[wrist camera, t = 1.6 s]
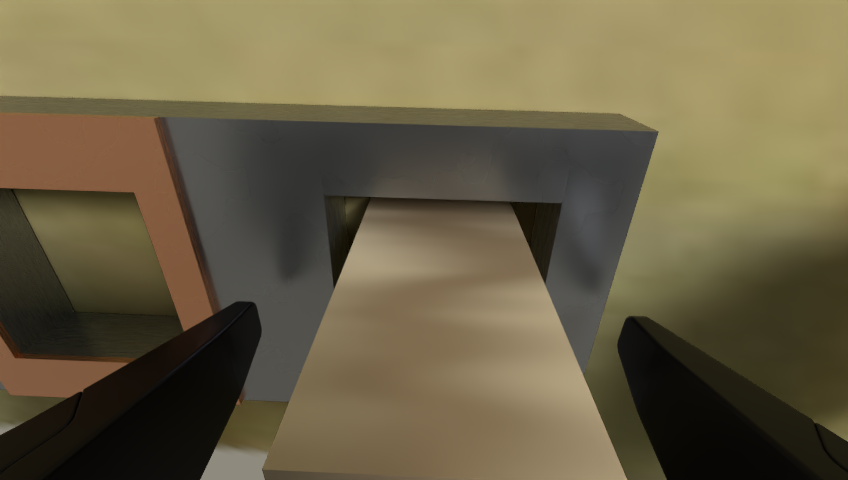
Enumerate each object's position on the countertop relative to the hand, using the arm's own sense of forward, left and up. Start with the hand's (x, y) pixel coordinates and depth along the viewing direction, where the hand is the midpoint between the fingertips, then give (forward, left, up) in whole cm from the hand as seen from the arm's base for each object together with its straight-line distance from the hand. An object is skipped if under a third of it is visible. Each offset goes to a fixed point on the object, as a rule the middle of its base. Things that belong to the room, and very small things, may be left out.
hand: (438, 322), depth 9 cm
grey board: (+5, 0, -3) cm, 6 cm away
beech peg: (0, 0, -3) cm, 3 cm away
